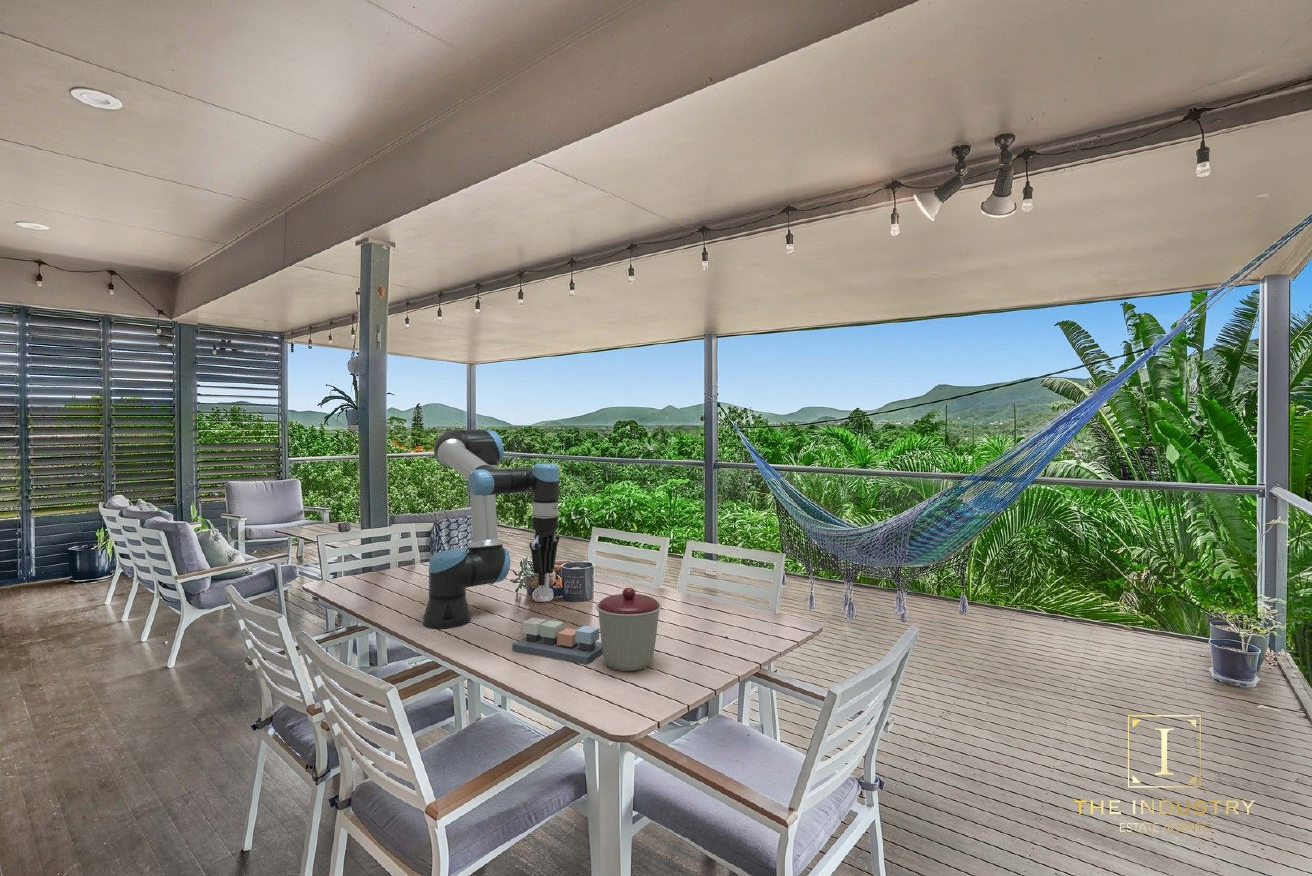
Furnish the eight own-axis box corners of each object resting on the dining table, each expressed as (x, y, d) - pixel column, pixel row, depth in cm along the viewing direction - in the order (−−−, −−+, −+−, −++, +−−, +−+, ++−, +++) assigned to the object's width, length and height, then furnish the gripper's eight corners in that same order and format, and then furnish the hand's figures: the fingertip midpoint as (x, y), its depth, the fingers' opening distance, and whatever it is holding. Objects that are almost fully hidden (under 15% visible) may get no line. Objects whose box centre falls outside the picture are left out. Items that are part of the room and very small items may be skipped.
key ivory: (522, 633, 176) (522, 622, 176) (532, 628, 181) (532, 617, 181) (536, 635, 174) (536, 624, 174) (546, 630, 179) (546, 619, 179)
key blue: (575, 641, 169) (575, 630, 169) (584, 636, 174) (584, 625, 174) (590, 644, 167) (590, 633, 167) (599, 639, 172) (599, 627, 172)
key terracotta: (557, 644, 171) (557, 633, 171) (566, 638, 176) (566, 628, 176) (572, 646, 169) (572, 635, 169) (581, 641, 174) (581, 630, 174)
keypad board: (512, 651, 173) (512, 636, 173) (536, 638, 184) (536, 624, 184) (587, 664, 164) (587, 649, 163) (607, 650, 175) (608, 636, 175)
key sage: (539, 635, 174) (539, 625, 174) (549, 630, 178) (549, 620, 178) (554, 638, 172) (554, 627, 172) (563, 633, 176) (563, 622, 176)
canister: (626, 647, 177) (626, 576, 177) (674, 663, 165) (675, 587, 165) (581, 665, 163) (582, 588, 163) (630, 683, 151) (631, 601, 151)
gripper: (544, 520, 169) (542, 603, 169) (567, 514, 181) (565, 591, 181) (521, 518, 171) (520, 599, 172) (546, 512, 183) (544, 588, 184)
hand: (543, 595), depth 177 cm, fingers closed
